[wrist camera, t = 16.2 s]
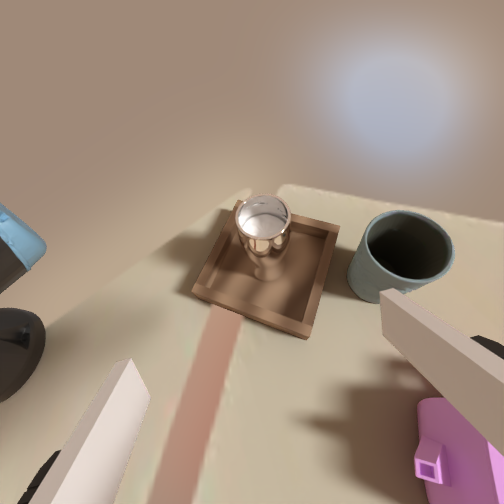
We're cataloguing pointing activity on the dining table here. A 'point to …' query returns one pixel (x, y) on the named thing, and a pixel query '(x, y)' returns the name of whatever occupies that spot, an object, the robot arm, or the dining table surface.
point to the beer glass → (264, 234)
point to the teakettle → (456, 457)
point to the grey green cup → (399, 255)
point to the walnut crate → (274, 292)
